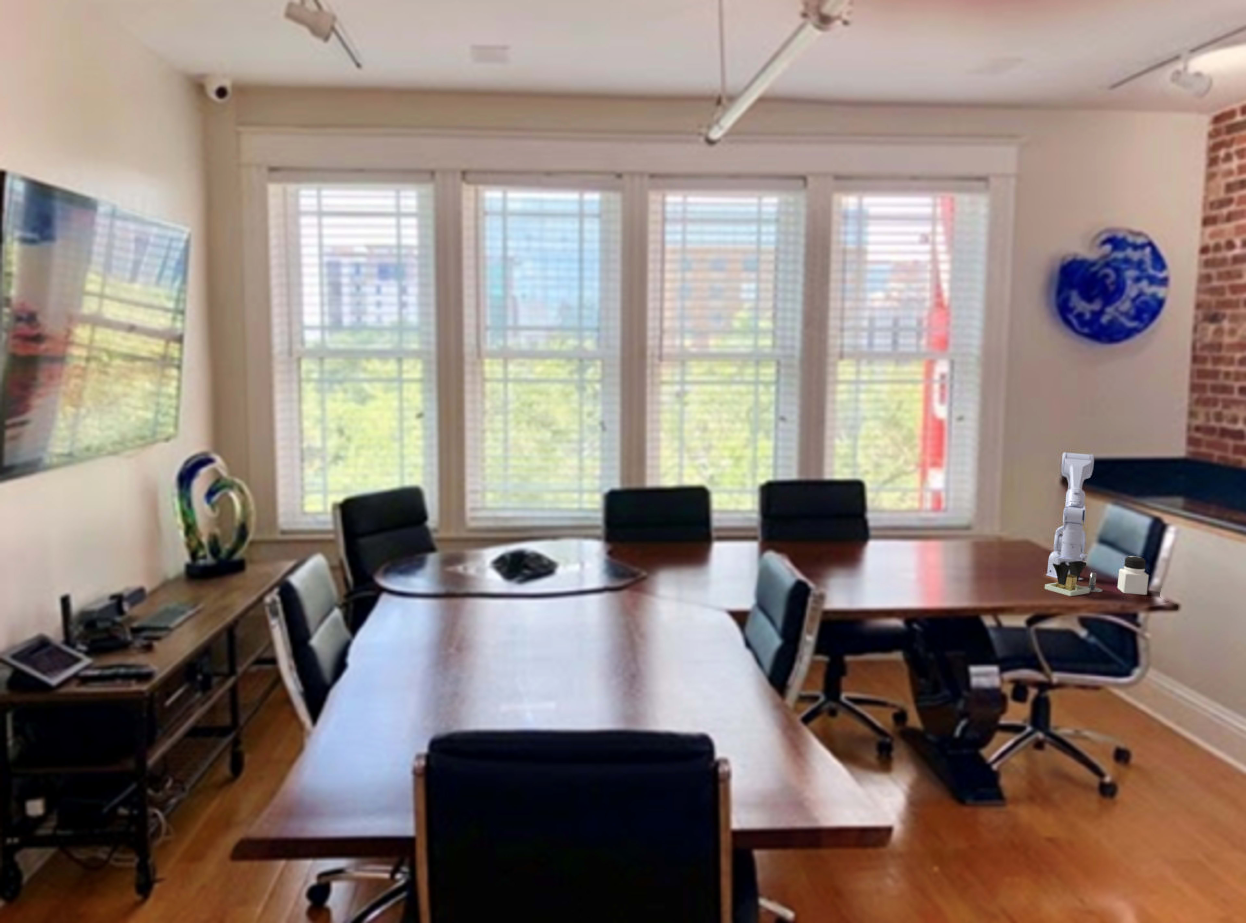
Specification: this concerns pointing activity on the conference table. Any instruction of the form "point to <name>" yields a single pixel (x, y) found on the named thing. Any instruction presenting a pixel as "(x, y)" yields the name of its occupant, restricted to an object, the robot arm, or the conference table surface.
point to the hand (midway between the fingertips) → (1067, 583)
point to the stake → (1093, 583)
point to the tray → (1077, 591)
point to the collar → (1069, 583)
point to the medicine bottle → (1133, 576)
